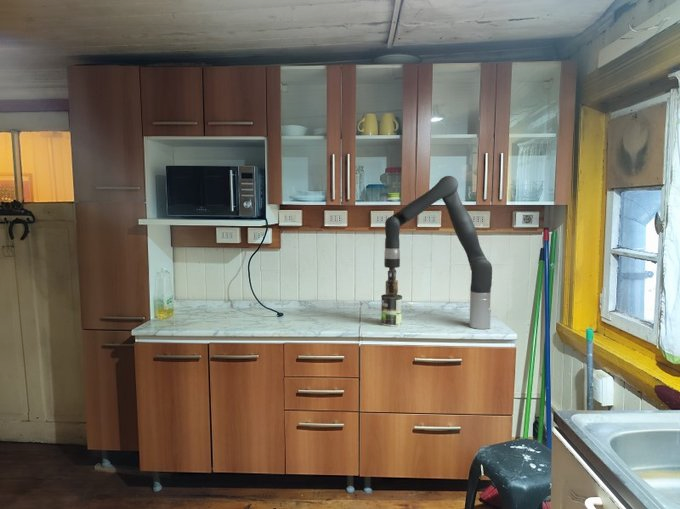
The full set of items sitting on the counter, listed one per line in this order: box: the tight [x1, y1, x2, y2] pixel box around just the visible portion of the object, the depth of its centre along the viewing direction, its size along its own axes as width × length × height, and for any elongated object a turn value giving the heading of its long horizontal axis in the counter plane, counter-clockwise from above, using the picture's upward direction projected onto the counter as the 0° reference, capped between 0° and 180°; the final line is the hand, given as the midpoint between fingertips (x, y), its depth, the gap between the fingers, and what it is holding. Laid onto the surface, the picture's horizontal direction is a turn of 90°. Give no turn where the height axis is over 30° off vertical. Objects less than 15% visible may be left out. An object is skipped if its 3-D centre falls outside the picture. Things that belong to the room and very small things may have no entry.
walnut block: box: [385, 279, 399, 295], centre depth 208 cm, size 6×6×6 cm
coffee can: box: [380, 293, 403, 327], centre depth 209 cm, size 10×10×14 cm
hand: (391, 291), depth 208 cm, fingers closed on walnut block, 5 cm apart
